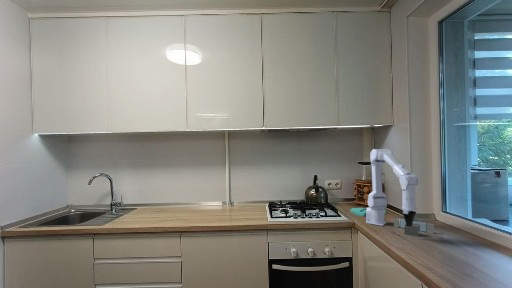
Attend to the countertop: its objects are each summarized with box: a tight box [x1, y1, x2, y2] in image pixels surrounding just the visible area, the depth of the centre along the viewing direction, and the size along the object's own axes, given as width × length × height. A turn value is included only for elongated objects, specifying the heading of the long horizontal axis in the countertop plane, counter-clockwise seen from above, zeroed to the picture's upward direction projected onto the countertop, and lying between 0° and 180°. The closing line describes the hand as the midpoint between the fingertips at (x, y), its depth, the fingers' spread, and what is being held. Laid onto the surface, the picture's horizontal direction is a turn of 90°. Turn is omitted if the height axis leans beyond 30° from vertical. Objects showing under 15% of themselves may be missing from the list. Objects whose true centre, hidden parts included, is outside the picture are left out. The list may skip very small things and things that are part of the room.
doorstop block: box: [404, 224, 421, 238], centre depth 139 cm, size 6×5×5 cm
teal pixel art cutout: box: [349, 207, 387, 217], centre depth 185 cm, size 20×2×20 cm
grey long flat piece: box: [393, 217, 435, 234], centre depth 147 cm, size 19×1×5 cm, turn 48°
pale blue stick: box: [400, 218, 427, 233], centre depth 147 cm, size 12×1×4 cm, turn 48°
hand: (409, 226), depth 134 cm, fingers closed
